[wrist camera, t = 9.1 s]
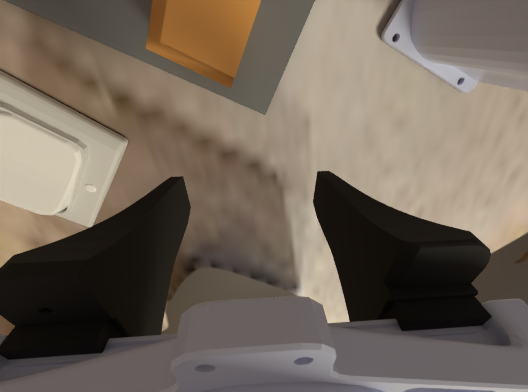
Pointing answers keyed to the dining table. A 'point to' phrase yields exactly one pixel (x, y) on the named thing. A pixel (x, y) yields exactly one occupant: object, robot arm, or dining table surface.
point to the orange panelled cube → (202, 34)
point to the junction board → (134, 44)
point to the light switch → (53, 155)
